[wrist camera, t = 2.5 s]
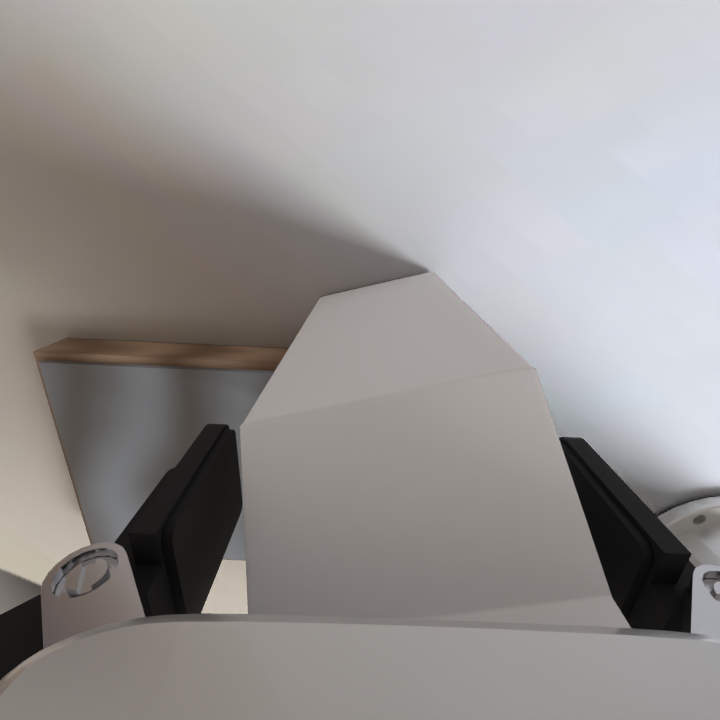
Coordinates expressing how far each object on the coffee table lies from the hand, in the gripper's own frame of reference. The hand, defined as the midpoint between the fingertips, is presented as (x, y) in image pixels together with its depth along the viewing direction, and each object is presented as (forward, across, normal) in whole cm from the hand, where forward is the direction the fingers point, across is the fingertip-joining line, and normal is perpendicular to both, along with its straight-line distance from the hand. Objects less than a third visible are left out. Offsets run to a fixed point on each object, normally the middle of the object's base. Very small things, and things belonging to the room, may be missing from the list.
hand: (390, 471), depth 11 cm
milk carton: (+14, -1, 0) cm, 14 cm away
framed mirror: (+14, +12, +10) cm, 21 cm away
